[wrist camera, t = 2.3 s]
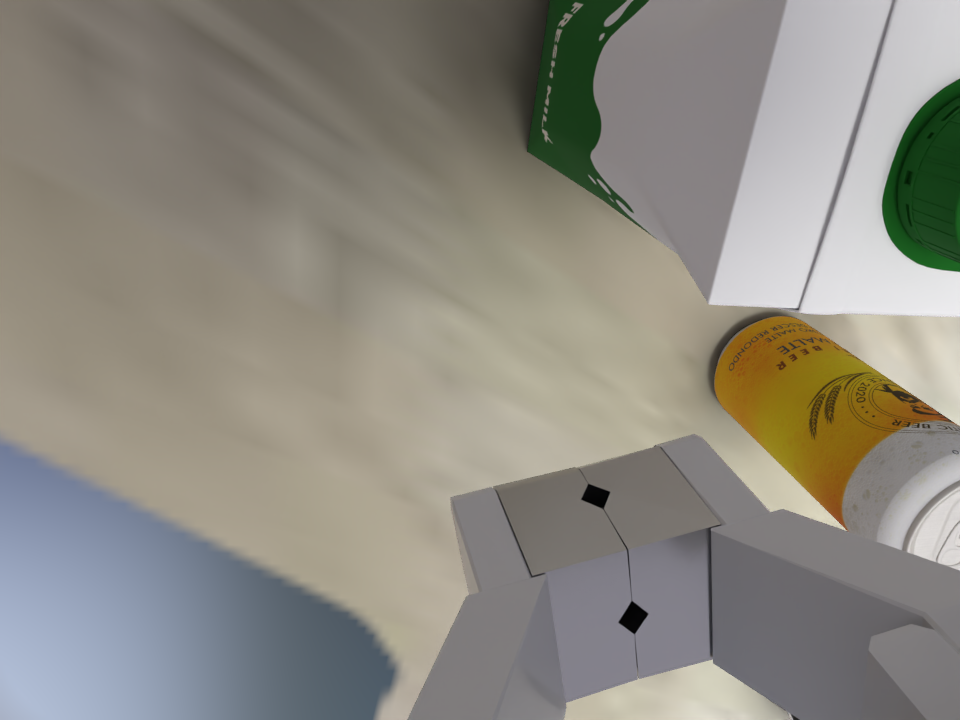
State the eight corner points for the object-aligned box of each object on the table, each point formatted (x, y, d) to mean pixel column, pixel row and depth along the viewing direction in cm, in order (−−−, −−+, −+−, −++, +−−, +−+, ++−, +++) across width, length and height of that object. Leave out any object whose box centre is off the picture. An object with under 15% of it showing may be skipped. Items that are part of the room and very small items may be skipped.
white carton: (686, 185, 38) (1039, 373, 20) (500, 170, 35) (716, 365, 18) (733, -20, 34) (1215, -10, 16) (530, -52, 32) (838, -81, 14)
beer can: (828, 318, 43) (1072, 472, 29) (786, 417, 45) (994, 602, 32) (730, 302, 41) (942, 459, 28) (691, 406, 43) (871, 597, 30)
